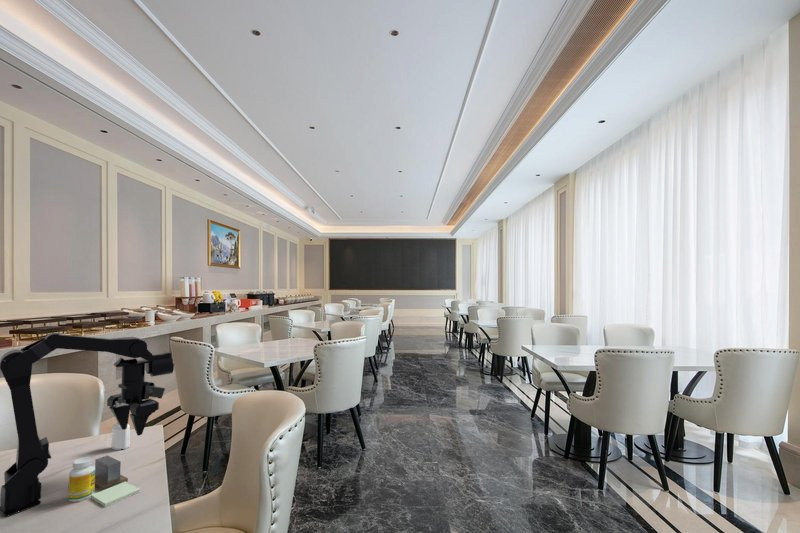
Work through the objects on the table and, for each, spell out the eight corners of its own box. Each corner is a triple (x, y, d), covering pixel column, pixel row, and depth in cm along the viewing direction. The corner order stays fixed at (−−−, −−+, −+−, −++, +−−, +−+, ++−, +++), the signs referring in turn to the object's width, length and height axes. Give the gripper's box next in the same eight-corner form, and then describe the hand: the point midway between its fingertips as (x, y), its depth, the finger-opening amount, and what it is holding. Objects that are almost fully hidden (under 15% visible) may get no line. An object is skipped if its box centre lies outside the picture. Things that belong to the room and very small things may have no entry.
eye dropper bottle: (115, 452, 128) (116, 416, 128) (110, 447, 131) (111, 412, 132) (130, 448, 131) (131, 412, 132) (125, 443, 135) (126, 409, 135)
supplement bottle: (68, 496, 101) (69, 459, 102) (94, 489, 105) (95, 453, 105) (67, 505, 97) (69, 466, 98) (94, 497, 100) (95, 460, 101)
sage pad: (105, 507, 96) (105, 503, 96) (91, 498, 100) (91, 495, 100) (139, 492, 103) (139, 489, 103) (125, 484, 107) (125, 481, 107)
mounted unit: (102, 491, 103) (103, 469, 104) (86, 482, 108) (87, 460, 109) (127, 481, 108) (128, 460, 109) (111, 473, 114) (111, 452, 114)
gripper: (177, 377, 117) (176, 429, 116) (146, 370, 127) (145, 418, 126) (137, 385, 107) (136, 442, 107) (107, 378, 117) (105, 429, 116)
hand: (131, 432), depth 114 cm, fingers open, 9 cm apart
